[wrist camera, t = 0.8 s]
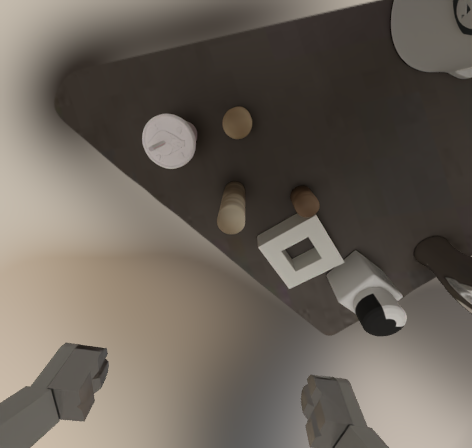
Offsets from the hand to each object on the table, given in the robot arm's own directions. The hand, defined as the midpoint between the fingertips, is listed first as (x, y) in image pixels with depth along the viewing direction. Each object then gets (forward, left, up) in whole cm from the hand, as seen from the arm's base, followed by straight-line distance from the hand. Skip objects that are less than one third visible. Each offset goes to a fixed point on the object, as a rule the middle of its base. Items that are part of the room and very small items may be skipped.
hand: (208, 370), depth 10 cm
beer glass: (-22, +33, -34) cm, 52 cm away
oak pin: (-5, -6, -34) cm, 35 cm away
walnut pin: (-7, +10, -34) cm, 36 cm away
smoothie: (+3, -9, -34) cm, 35 cm away
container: (-8, +30, -34) cm, 46 cm away
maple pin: (+2, +3, -34) cm, 34 cm away
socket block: (-2, +18, -34) cm, 38 cm away
